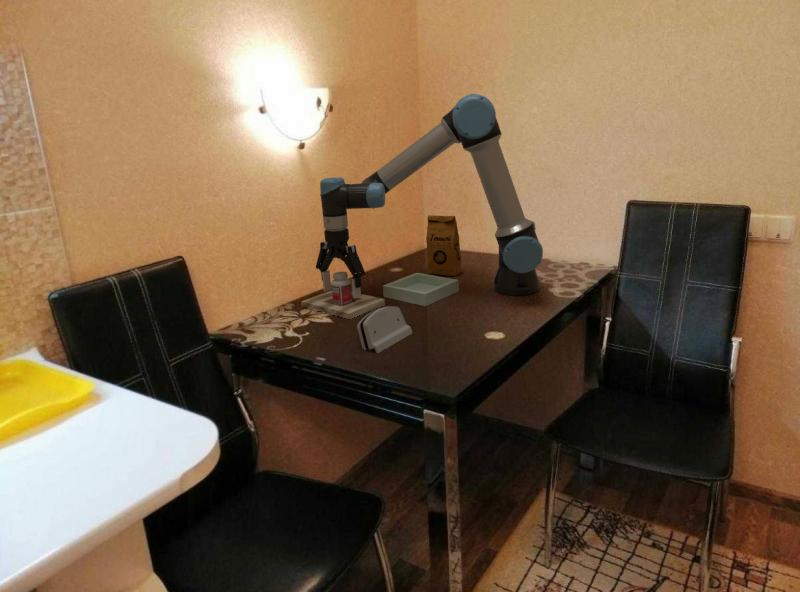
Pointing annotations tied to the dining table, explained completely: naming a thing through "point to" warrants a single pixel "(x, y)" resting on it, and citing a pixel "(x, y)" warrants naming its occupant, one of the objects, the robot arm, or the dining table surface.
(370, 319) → the napkin holder
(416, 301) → the tray
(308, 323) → the dining table surface
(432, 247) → the coffee package
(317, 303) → the socket block
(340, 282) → the pill bottle
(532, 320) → the dining table surface
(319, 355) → the dining table surface
